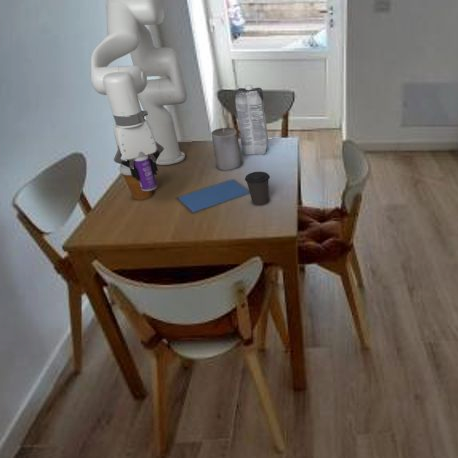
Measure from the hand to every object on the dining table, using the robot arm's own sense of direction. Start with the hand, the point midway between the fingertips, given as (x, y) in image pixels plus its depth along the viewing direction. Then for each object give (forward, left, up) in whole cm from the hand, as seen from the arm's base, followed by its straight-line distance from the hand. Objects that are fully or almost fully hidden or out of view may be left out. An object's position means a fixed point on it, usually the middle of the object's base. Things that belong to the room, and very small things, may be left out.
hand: (145, 175), depth 132 cm
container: (0, 0, -4) cm, 4 cm away
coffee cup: (+16, +30, -14) cm, 36 cm away
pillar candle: (-18, +36, -14) cm, 43 cm away
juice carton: (-23, +51, -14) cm, 58 cm away
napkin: (+1, +20, -13) cm, 24 cm away
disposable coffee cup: (-15, +1, -14) cm, 21 cm away
